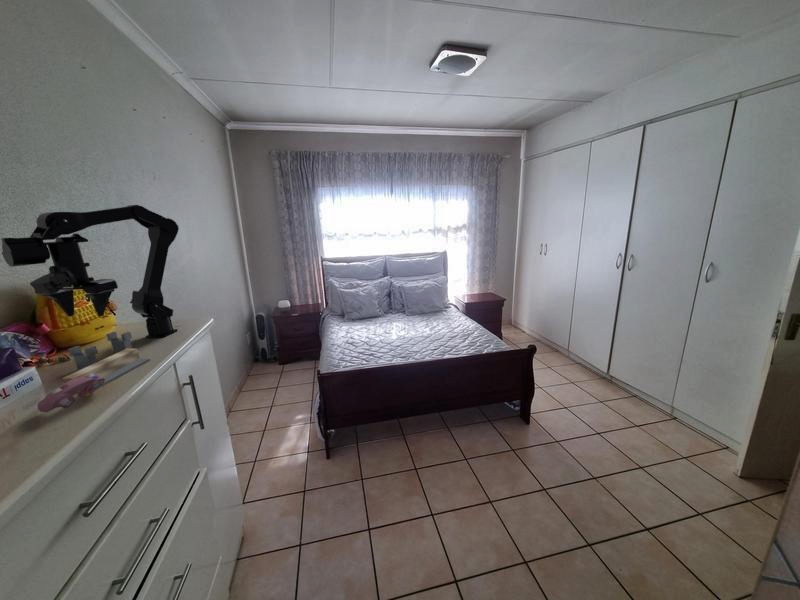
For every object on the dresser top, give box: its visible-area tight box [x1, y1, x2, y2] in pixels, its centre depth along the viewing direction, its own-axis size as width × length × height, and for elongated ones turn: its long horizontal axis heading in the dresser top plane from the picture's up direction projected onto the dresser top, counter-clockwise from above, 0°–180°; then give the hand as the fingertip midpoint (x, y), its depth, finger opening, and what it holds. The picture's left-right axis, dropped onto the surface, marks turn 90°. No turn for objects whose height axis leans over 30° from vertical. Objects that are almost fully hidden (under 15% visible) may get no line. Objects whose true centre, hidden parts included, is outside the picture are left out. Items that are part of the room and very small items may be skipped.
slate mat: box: [96, 358, 151, 390], centre depth 79 cm, size 16×9×1 cm, turn 175°
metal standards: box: [67, 331, 134, 371], centre depth 87 cm, size 12×6×6 cm, turn 175°
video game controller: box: [37, 373, 105, 413], centre depth 66 cm, size 10×5×7 cm
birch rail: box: [61, 348, 141, 385], centre depth 79 cm, size 16×3×3 cm, turn 175°
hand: (86, 315), depth 88 cm, fingers open, 9 cm apart
